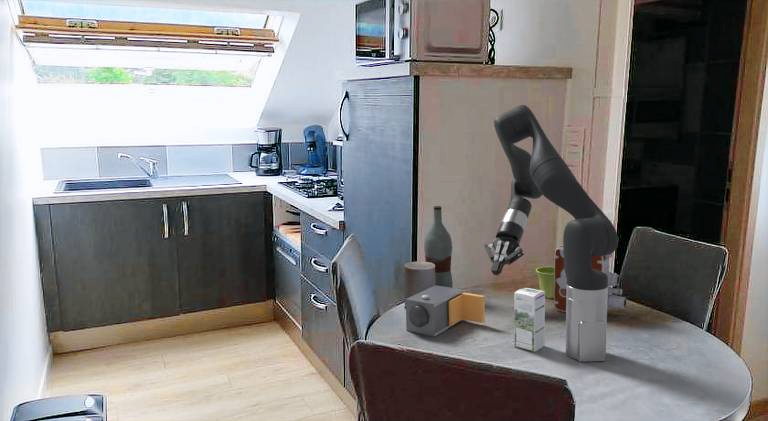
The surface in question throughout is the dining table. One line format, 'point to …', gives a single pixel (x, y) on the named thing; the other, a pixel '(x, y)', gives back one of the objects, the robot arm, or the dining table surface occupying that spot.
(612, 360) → the dining table surface
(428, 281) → the pillar candle
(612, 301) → the cine camera
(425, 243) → the bottle
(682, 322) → the dining table surface
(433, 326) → the block
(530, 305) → the syrup box
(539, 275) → the plant pot
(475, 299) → the orange l-shaped bracket
